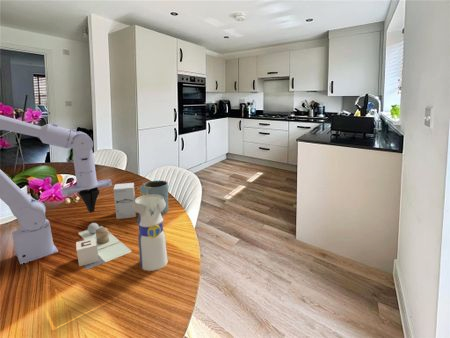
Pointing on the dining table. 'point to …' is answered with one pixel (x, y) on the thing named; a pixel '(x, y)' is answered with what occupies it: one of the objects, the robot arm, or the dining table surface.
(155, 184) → the grey plant pot
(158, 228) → the cream belted figurine
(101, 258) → the slate mat
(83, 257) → the letter cube
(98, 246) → the tile set
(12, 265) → the dining table surface
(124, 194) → the supplement box
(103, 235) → the cork
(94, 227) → the grey ball
